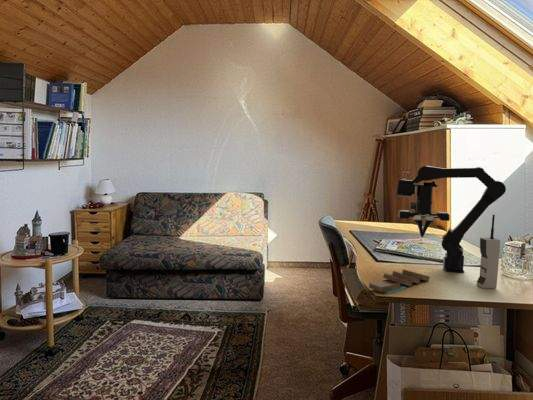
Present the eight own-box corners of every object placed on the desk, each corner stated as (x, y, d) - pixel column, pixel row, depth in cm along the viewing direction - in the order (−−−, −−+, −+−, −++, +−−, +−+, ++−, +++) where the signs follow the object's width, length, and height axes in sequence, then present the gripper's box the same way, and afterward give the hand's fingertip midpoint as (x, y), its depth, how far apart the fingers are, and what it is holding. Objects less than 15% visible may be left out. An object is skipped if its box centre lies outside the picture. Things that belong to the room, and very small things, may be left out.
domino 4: (408, 275, 152) (393, 271, 147) (420, 279, 148) (405, 274, 143) (407, 280, 152) (392, 275, 147) (419, 283, 148) (404, 279, 143)
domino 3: (393, 283, 146) (375, 287, 141) (405, 286, 142) (388, 291, 137) (392, 287, 146) (375, 292, 141) (405, 291, 142) (388, 296, 137)
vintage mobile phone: (476, 285, 148) (481, 213, 145) (489, 285, 148) (495, 213, 146) (482, 288, 144) (488, 215, 142) (496, 288, 145) (502, 215, 142)
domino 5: (417, 273, 156) (402, 269, 150) (429, 276, 152) (415, 272, 146) (416, 277, 156) (401, 273, 150) (428, 281, 152) (414, 277, 146)
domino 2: (401, 278, 149) (384, 273, 144) (412, 282, 145) (396, 276, 140) (399, 282, 149) (383, 277, 144) (411, 286, 145) (394, 281, 140)
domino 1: (388, 279, 144) (369, 283, 139) (400, 283, 140) (381, 287, 135) (388, 284, 144) (369, 287, 140) (400, 288, 140) (380, 292, 135)
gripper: (444, 196, 175) (442, 234, 177) (397, 194, 179) (395, 231, 180) (451, 199, 164) (448, 239, 166) (400, 197, 168) (398, 236, 169)
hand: (421, 236), depth 171 cm, fingers closed
